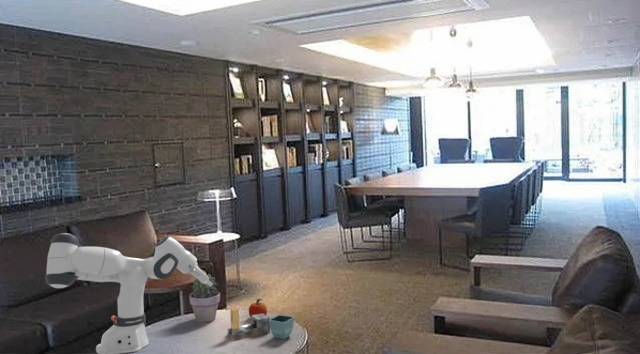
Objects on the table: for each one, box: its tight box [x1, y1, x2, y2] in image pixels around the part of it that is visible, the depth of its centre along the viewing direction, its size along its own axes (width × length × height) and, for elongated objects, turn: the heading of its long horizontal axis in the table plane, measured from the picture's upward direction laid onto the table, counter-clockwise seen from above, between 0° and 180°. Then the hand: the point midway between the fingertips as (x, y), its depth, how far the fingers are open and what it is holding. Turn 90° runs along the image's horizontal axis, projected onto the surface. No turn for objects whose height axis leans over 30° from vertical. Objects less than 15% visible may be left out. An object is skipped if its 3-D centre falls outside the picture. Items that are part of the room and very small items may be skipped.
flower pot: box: [269, 314, 295, 340], centre depth 259 cm, size 9×9×9 cm
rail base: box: [227, 313, 271, 341], centre depth 265 cm, size 18×8×7 cm, turn 119°
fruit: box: [248, 298, 268, 319], centre depth 286 cm, size 10×10×10 cm
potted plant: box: [188, 270, 222, 323], centre depth 286 cm, size 18×20×25 cm
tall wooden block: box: [230, 307, 253, 332], centre depth 263 cm, size 10×3×12 cm, turn 119°
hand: (208, 282), depth 254 cm, fingers open, 8 cm apart
